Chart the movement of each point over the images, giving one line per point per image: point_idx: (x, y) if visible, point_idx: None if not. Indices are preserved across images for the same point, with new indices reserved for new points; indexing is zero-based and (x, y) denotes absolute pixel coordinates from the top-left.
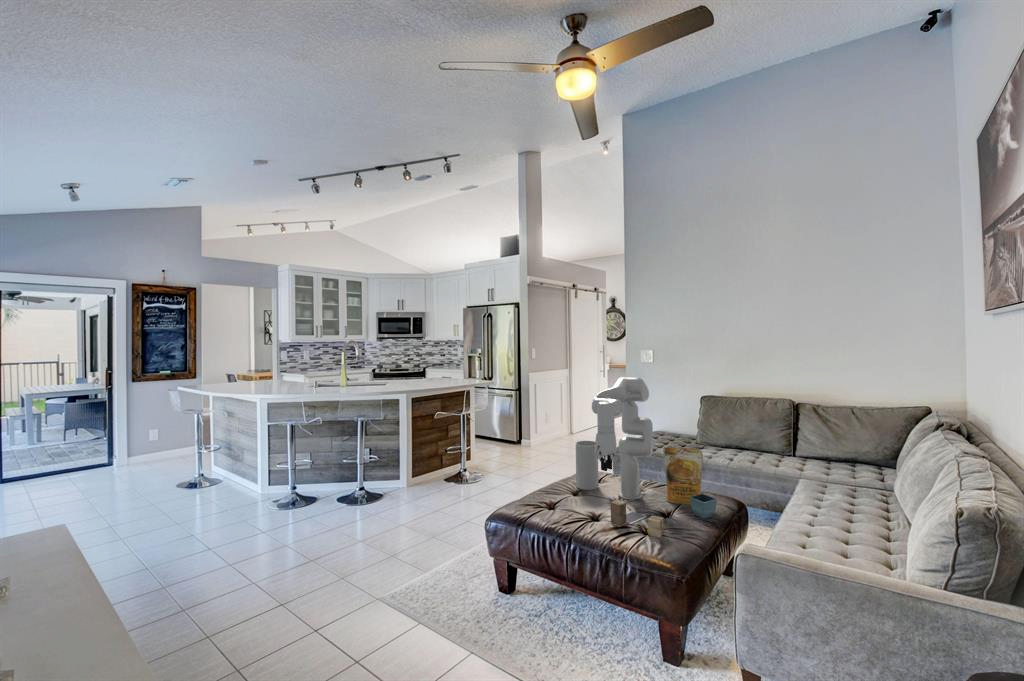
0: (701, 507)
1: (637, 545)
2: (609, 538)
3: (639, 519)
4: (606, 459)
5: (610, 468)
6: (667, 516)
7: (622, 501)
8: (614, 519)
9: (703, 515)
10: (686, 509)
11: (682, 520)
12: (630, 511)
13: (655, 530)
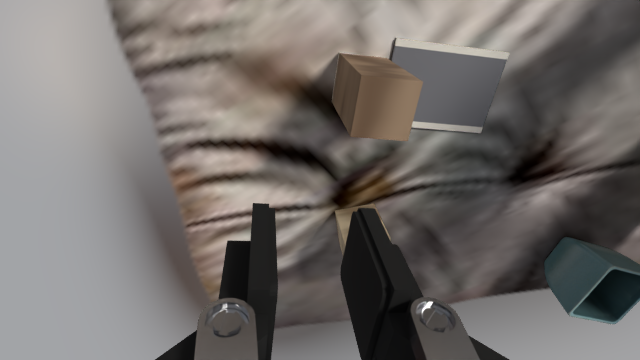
0: (561, 289)
1: (238, 225)
2: (208, 131)
3: (439, 127)
4: (402, 294)
5: (344, 273)
6: (520, 180)
7: (411, 119)
8: (339, 80)
9: (545, 273)
10: (608, 195)
11: (506, 227)
12: (504, 52)
13: (341, 244)
